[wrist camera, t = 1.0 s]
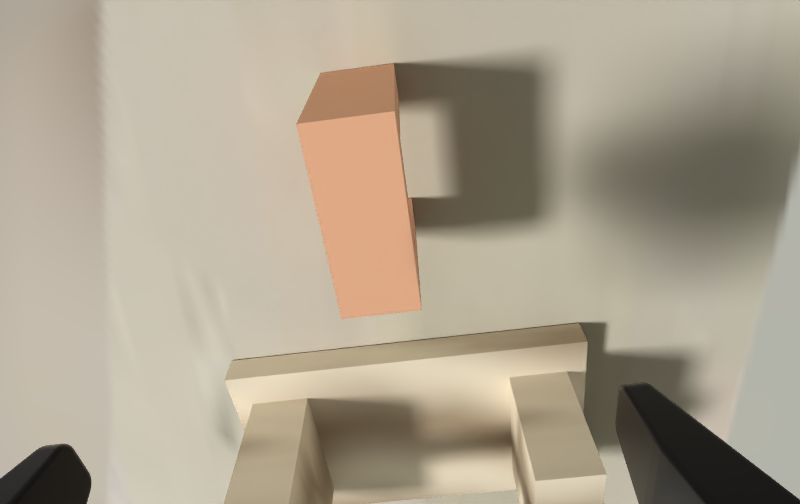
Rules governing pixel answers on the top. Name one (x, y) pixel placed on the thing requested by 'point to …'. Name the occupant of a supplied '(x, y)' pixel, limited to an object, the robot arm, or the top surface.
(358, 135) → the pink block
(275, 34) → the top surface
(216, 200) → the top surface
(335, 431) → the cream rod stand
